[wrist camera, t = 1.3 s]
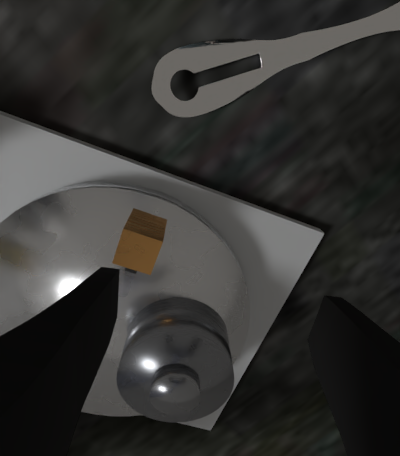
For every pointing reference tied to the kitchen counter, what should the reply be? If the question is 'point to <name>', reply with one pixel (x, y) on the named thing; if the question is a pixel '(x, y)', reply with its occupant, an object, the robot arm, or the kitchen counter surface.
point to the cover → (176, 361)
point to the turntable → (117, 264)
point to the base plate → (177, 188)
